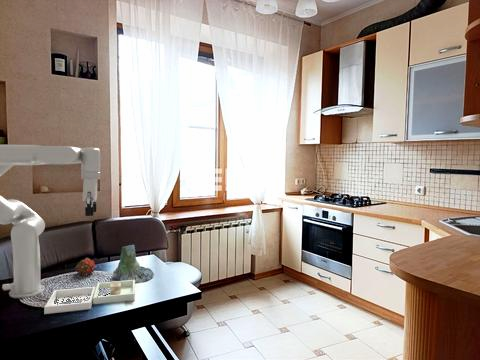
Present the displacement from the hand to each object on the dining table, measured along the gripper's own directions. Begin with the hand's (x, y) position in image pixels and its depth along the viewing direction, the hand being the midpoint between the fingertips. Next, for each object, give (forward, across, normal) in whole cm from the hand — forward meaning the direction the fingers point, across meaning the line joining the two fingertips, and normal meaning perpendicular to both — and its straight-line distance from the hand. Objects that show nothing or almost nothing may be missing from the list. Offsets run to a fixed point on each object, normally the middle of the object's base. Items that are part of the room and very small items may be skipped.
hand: (91, 213), depth 141 cm
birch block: (+33, +12, +11) cm, 37 cm away
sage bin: (+33, +12, +11) cm, 37 cm away
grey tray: (+33, +16, -5) cm, 37 cm away
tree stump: (+34, -9, +18) cm, 39 cm away
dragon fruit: (+34, -18, -5) cm, 38 cm away
